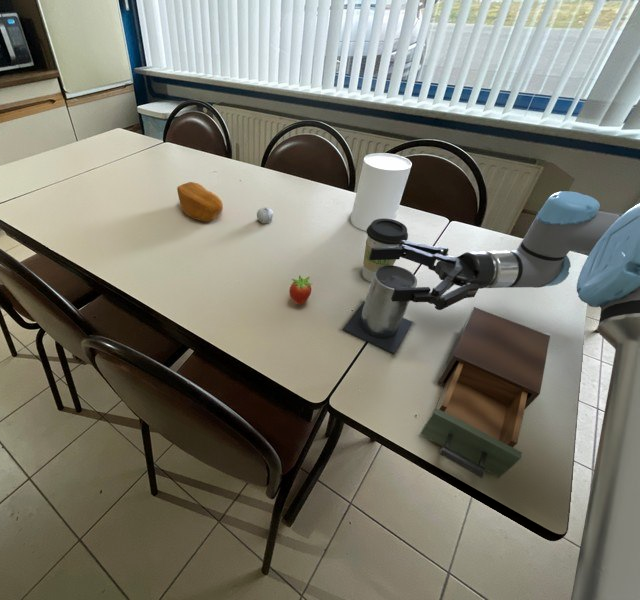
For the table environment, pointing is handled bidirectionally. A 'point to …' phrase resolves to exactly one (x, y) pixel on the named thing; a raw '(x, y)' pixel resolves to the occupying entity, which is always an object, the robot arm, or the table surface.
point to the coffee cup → (382, 242)
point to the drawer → (478, 421)
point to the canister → (379, 188)
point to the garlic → (265, 215)
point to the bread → (199, 202)
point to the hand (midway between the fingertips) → (381, 273)
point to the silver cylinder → (385, 301)
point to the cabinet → (500, 351)
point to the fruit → (300, 290)
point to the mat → (385, 344)
